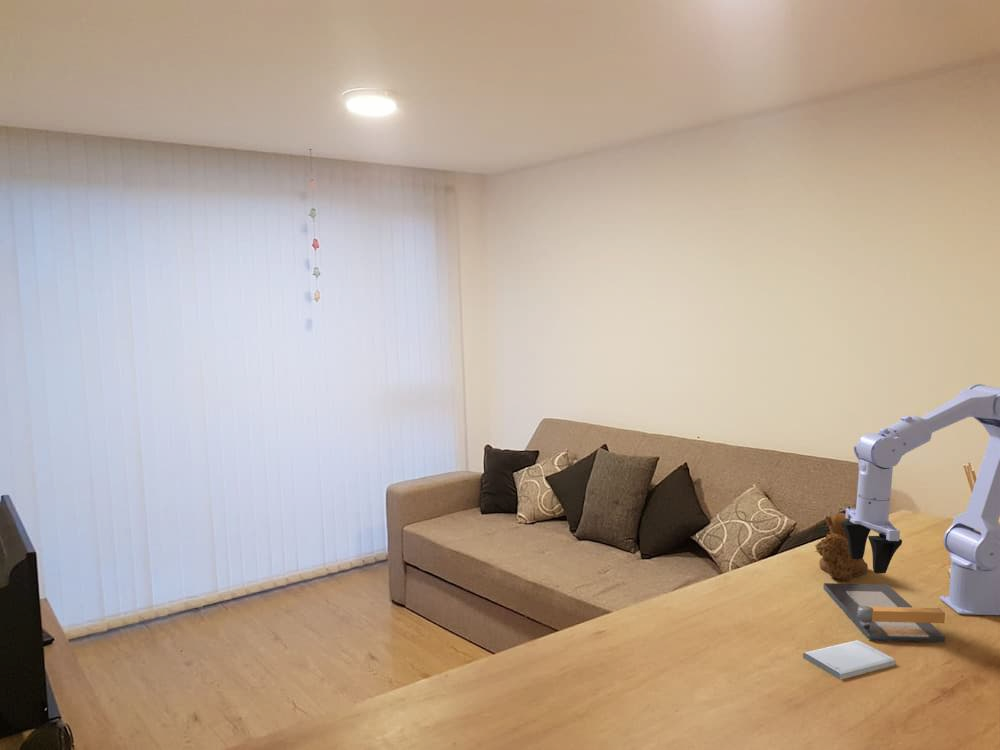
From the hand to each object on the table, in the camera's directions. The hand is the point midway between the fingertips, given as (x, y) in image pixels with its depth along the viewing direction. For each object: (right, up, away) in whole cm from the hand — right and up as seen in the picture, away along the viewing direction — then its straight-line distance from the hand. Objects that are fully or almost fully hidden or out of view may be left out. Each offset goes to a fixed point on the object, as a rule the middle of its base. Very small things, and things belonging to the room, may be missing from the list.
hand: (867, 565), depth 146 cm
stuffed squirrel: (+5, -8, +22) cm, 24 cm away
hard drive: (-12, -13, -17) cm, 24 cm away
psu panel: (+3, -10, +1) cm, 10 cm away
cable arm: (+2, -8, -7) cm, 11 cm away
